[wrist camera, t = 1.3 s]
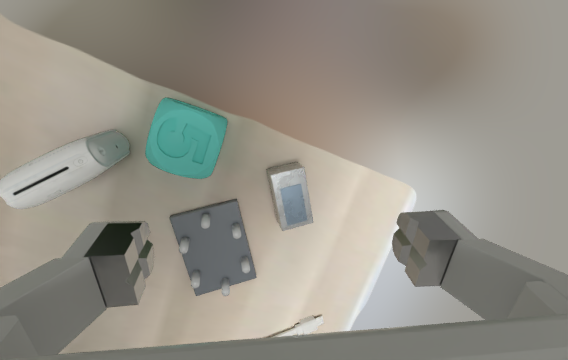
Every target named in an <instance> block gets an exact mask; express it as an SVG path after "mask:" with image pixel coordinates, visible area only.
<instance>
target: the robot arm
mask: <svg viewBox="0 0 568 360" xmlns="http://www.w3.org/2000/svg"><path fill="white" fill-rule="evenodd" d="M397 225H398V226H399V229H398V230H397V231H396V232H395V233H394V235H393V240H392V246H393V252H394V254H395V256H396V258H397V260H398V261H399V262H400V263H402V264H404V265H405V266H406V268H405V272H406V274H407V275H408V277H409V278H410V280H411V281H412V283H413V284H414V286H416V287H420V286H441V288H442V289H444V290H445V291H447V292H448V293H449V294H451V295H452V296H453V297H455V298H456V299H458V300H459V301H460V302H462V303H463V304H464V305H466V306H467V307H469V308H470V309H471V310H473V311H474V312H475V313H477V314H478V315H480V316H481V317H482V318H484V319H485V320H481V321H468V322H456V323H443V324H432V325H419V326H406V327H394V328H381V329H369V330H356V331H343V332H331V333H318V334H306V335H293V336H281V337H268V338H256V339H244V340H231V341H219V342H207V343H195V344H183V345H170V346H158V347H146V348H133V349H120V350H108V351H95V352H82V353H69V354H58V353H59V352H60V351H61V350H63V349H64V348H65V347H66V346H67V345H68V344H69V343H70V342H71V341H72V340H73V339H74V338H76V337H77V336H78V335H79V334H80V333H81V332H82V331H83V330H84V329H85V328H86V327H88V326H89V325H90V324H91V323H92V322H93V321H94V320H95V319H96V318H97V317H98V316H99V315H101V314H102V313H103V312H104V311H105V310H106V307H117V306H128V305H138V304H139V302H140V299H141V297H142V294H143V292H144V289H145V287H146V285H145V281H144V279H145V278H147V277H148V276H149V275H150V274H151V271H152V269H153V264H154V248H153V244H152V243H151V242H150V241H148V240H147V238H148V236H149V234H150V230H149V226H148V223H147V222H145V221H123V222H93V223H90V224H89V225H88V226H87V227H86V229H85V230H84V231H83V232H82V233H81V235H80V236H79V237H78V238H77V240H76V241H75V242H74V243H73V244H72V246H71V247H70V248H69V249H68V250H67V252H66V253H65V254H64V255H63V257H62V258H59V259H53V260H52V261H50V262H48V263H46V264H44V265H42V266H40V267H38V268H36V269H35V270H33V271H31V272H29V273H27V274H25V275H23V276H21V277H20V278H18V279H16V280H14V281H12V282H10V283H8V284H6V285H4V286H3V287H1V288H0V360H568V275H567V274H565V273H562V272H560V271H557V270H555V269H553V268H551V267H548V266H546V265H543V264H541V263H539V262H536V261H534V260H532V259H529V258H527V257H524V256H522V255H520V254H518V253H515V252H513V251H511V250H508V249H506V248H503V247H501V246H499V245H497V244H494V243H492V242H489V241H487V240H485V239H478V238H477V237H476V236H475V235H474V234H473V233H471V232H470V231H469V230H468V229H467V228H466V227H465V226H464V225H463V224H461V223H460V222H459V221H458V220H457V219H456V218H455V217H454V216H453V215H451V214H450V213H449V212H448V211H445V210H438V211H437V210H436V211H425V212H405V213H400V215H399V216H398V219H397Z"/></svg>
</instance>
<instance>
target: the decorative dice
mask: <svg viewBox="0 0 568 360" xmlns="http://www.w3.org/2000/svg"><path fill="white" fill-rule="evenodd" d="M226 127H227V119H226V118H224V117H222V116H220V115H218V114H215V113H212V112H210V111H207V110H204V109H202V108H199V107H196V106H193V105H190V104H187V103H184V102H181V101H178V100H174V99H171V98H164V99H163V100H162V101H161V102H160V104H159V106H158V108H157V111H156V113H155V116H154V119H153V121H152V125H151V128H150V131H149V135H148V139H147V144H146V152H145V154H146V158H147V159H148V161H149V162H150V163H151V164H152V165H153V166H155V167H157V168H159V169H161V170H163V171H166V172H169V173H172V174H175V175H179V176H183V177H188V178H196V179H202V178H207V177H209V176H211V174H212V172H213V170H214V167H215V164H216V161H217V158H218V155H219V152H220V149H221V146H222V142H223V139H224V135H225V132H226Z"/></svg>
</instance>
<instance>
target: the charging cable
mask: <svg viewBox="0 0 568 360" xmlns="http://www.w3.org/2000/svg"><path fill="white" fill-rule="evenodd" d="M299 321H300V323H299V324H297V325H294V326H295V328H292V329H290V330H288V331H285V332H283V333H280V334H278V335H276V336H273V337H281V336H291V335H293V334H296V333H297V335H299V334H302V333H303V334H304V335H306V334H308V333H311V332H313V331H316V330H318V329H317V326H319V325H322V324H324V322H323V317H322V316H320V317H317V318H314V316H313V315H312V316H309V317H306V318H304V319H301V320H299Z"/></svg>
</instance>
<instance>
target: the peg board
mask: <svg viewBox="0 0 568 360" xmlns="http://www.w3.org/2000/svg"><path fill="white" fill-rule="evenodd" d="M170 221H171V224H172V227H173V229H174V232H175V235H176V238H177V241H178V244H179V247H180V248H179V251H180V253H182V256H183V259H184V262H185V265H186V268H187V271H188V274H189V277H190V280H191V286H192V288H194V291H195V294H196V296H198V295H201V294H205V293H208V292H211V291H215V290H218V289H221V288H222V295H223V296H227V295H229V293H230V288H229V286H231V285H234V284H238V283H241V282H244V281H248V280H251V279H254V278H256V273H255V269H254V265H253V262H252V258H251V254H250V250H249V246H248V242H247V238H246V234H245V230H244V226H243V222H242V218H241V214H240V211H239V207H238V203H237V199H234V200H231V201H227V202H223V203H219V204H215V205H211V206H207V207H203V208H199V209H195V210H191V211H187V212H183V213H180V214H176V215H172V216H170Z"/></svg>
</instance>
